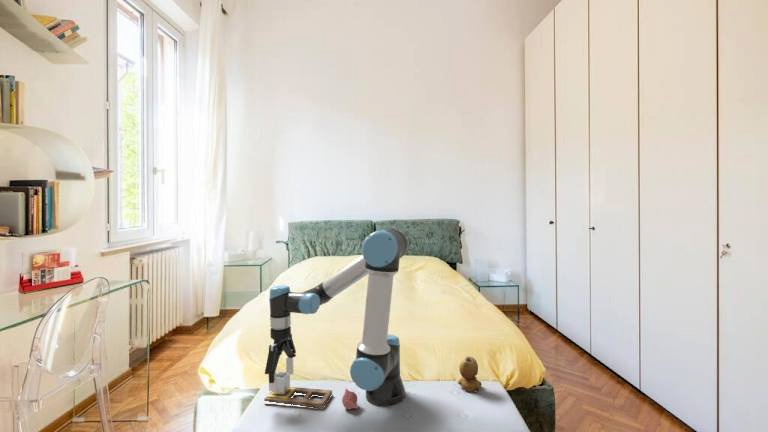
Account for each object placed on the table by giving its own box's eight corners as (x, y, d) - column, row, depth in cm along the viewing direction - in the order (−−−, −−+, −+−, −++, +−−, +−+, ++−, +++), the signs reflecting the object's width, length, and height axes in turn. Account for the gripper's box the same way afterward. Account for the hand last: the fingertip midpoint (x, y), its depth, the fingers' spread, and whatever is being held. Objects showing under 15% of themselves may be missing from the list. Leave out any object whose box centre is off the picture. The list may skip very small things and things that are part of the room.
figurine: (485, 386, 140) (482, 353, 137) (480, 399, 134) (476, 365, 131) (462, 380, 146) (458, 349, 143) (455, 392, 139) (451, 359, 136)
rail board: (332, 395, 136) (332, 389, 136) (322, 409, 126) (322, 402, 126) (277, 390, 140) (277, 384, 140) (264, 404, 131) (264, 397, 131)
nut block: (290, 395, 136) (289, 371, 136) (284, 401, 132) (284, 376, 132) (279, 394, 137) (278, 370, 137) (273, 400, 133) (273, 376, 133)
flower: (335, 395, 125) (348, 385, 125) (340, 393, 132) (352, 384, 133) (347, 416, 122) (360, 406, 122) (351, 413, 129) (364, 404, 130)
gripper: (286, 317, 148) (287, 367, 148) (253, 337, 123) (255, 397, 123) (303, 317, 146) (304, 368, 146) (273, 338, 122) (274, 399, 122)
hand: (281, 381), depth 135 cm, fingers open, 13 cm apart
